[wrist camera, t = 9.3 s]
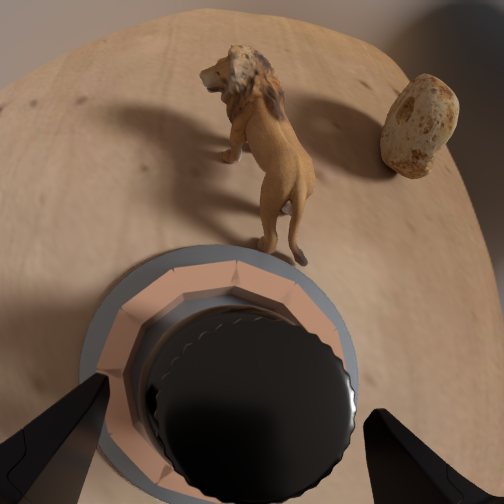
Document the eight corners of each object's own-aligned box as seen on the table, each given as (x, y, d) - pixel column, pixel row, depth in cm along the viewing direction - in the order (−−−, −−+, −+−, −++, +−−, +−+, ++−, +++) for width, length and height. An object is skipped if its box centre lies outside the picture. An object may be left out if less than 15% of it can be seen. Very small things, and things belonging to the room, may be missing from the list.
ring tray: (307, 526, 14) (321, 541, 12) (52, 447, 13) (35, 455, 11) (376, 299, 22) (396, 290, 19) (146, 211, 21) (142, 191, 18)
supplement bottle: (154, 335, 17) (97, 277, 6) (265, 324, 19) (366, 256, 8) (170, 445, 15) (145, 550, 4) (282, 429, 17) (403, 489, 6)
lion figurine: (189, 128, 24) (196, 39, 16) (244, 115, 26) (266, 33, 18) (272, 283, 21) (327, 223, 13) (332, 253, 23) (402, 190, 14)
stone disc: (376, 116, 30) (419, 53, 21) (403, 130, 31) (448, 72, 21) (373, 182, 26) (435, 110, 17) (405, 199, 26) (472, 135, 17)
